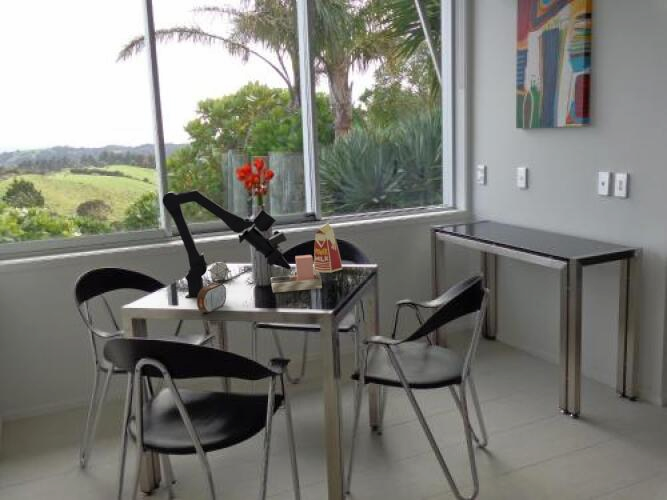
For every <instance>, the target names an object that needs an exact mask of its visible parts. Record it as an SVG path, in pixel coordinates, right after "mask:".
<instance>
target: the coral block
mask: <svg viewBox="0 0 667 500" xmlns="http://www.w3.org/2000/svg"><path fill="white" fill-rule="evenodd" d="M294 257H295V258H294V260H295V271H296V275H297V281H301V280H312V279H314V273H315V271H314V256H312V254H305V255H295V256H294Z"/></svg>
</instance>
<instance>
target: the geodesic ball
mask: <svg viewBox="0 0 667 500" xmlns="http://www.w3.org/2000/svg"><path fill="white" fill-rule="evenodd" d="M212 261H213V263H212V265H211V266H210V269H207V271H209V273H210V274H211V276H212V278H213V280H212V282H214V281H216V280H224V281H227V279H226V278H227V276H228V274H229V273H231V272H232V270H230V269H229V268H228V265H227V263H226V262H227V259H226V260H224V261H218V262H216V261H215V260H212Z"/></svg>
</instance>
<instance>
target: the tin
mask: <svg viewBox="0 0 667 500" xmlns="http://www.w3.org/2000/svg"><path fill="white" fill-rule="evenodd" d="M226 300H227V288H226V286H225V284H223V283H217V282H214V283H212V284H209V285H206V286H204V288H202V289H201V290H200V292H199V294H198V297H196V306H197V309H198V311H199V312H200V313H212V312H214V311H216V310H217V309H220V308H222V307H223V306H224V305H225V303H226Z"/></svg>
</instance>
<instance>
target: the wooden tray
mask: <svg viewBox="0 0 667 500" xmlns="http://www.w3.org/2000/svg"><path fill="white" fill-rule="evenodd" d="M322 282H323V281H322V276H321V275H320V272H318V271H314V279H312V280H301V281H297V274H293V275H284V276H283V275H282V276H273V277H270V283H271V284H270V285H271V289H272V293H273V294H274V293H281V292H282V293H284V292H294V291H303V290H313V289H315V290H316V289H317V290H318V289H322V288H323V286H322V285H323V284H322Z"/></svg>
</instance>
